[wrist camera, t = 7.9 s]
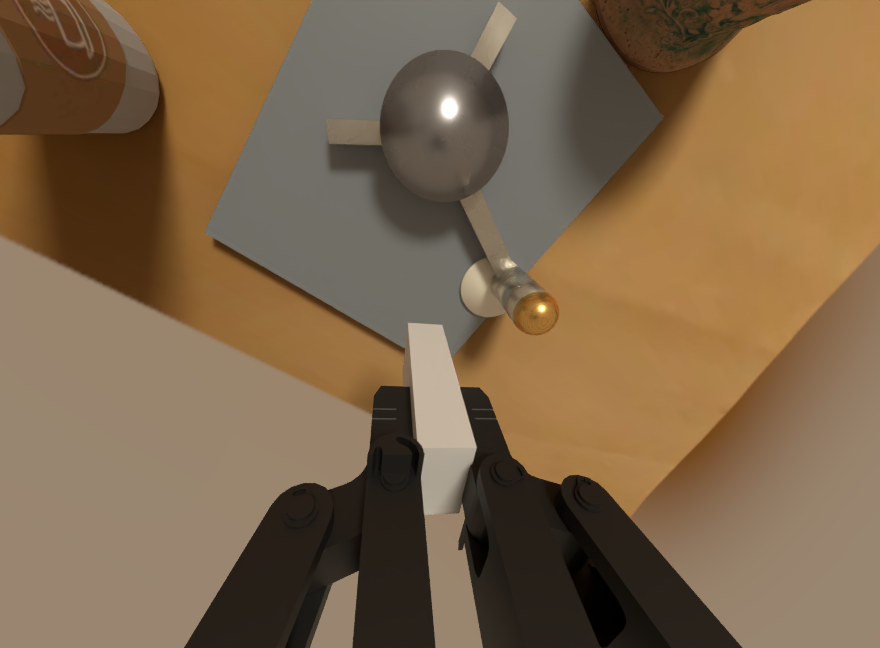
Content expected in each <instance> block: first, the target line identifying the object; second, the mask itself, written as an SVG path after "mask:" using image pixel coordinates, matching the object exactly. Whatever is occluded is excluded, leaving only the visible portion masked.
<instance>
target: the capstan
mask: <svg viewBox="0 0 880 648" xmlns="http://www.w3.org/2000/svg"><path fill="white" fill-rule="evenodd" d="M516 19H517V18H516V17H515V16H514V15H513V14H512V13H511V12H510V11H508V10H507V9H506V8H505V7H504V6H503V5H502V4H501V3H500V2H499V1H498V3H497V5H496V7H495V8H494V10H493V12H492V14H491V16H490V18H489V20H488V22H487V24H486V26H485V28H484V30H483V31H482V33H481V35H480V37H479V39H478V41H477V43H476V45H475V47H474V49H473V51H472V53H471V55H470V56H469V55H467V54H465V53H462V52H459V51H454V50H435V51H430V52H427V53H424V54H421V55H419V56H418V57H416V58H414V59H412V60H411V61H410V62H408V63H407V64H406V65H405V66H404V67H403V68H402V69H401V70H400V71H399V72H398V73H397V75H396V76H395V77H394V79H393V80H392V82H391V84H390V86H389V88H388V89H387V92H386V94H385V97H384V100H383V104H382V108H381V114H380V121H371V120H345V119H326V122H327V130H328V139H329V144H332V145H364V146H382V148H383V152H384V155H385V157H386V160H387V162H388V164H389V166H390V168H391V170H392V171H393V173H394V174H395V176H396V177H397V178H398V180H399V181H400V182H401V183H402V184H403V185H404V186H405V187H406V188H407V189H409V190H410V191H411V192H413V193H414V194H416V195H418V196H420V197H422V198H425V199H427V200H431V201H435V202H453V201H459V203H460V205H461V207H462V209H463V211H464V213H465V215H466V217H467V219H468V221H469V223H470V225H471V227H472V229H473V231H474V234H475V236H476V238H477V240H478V242H479V244H480V246H481V248H482V250H483V252H484V254H485V256H486V258H487V260H488V262H489V264H490V267H491V269H492V271H493V273H494V276H493V278H492V280H491V289H492V292H493V293H494V295H495V296H496V298H497V299H498V301H499V302H500V304H501V305H502V306H503V308H504V309H505V311H506V312H507V314H508V315H509V317H510V318H511V320H512V321H513V322H514V324H515V325H516V327H517V328H518V329H519V330H520V331H522V332H524V333H526V334H529V335H542V334H545V333H547V332H548V331H550V330H551V329H552V328H553V327H554V326H555V324H556V323H557V320H558V317H559V308H558V304H557V302H556V300H555V299H554V298H553V297H552V296H551V295H550V294H549V293H548V292H547V291H546V290H545V289H543V288H542V287H541V286H540V285H539V284H538V283H537V282H536V281H535V280H533V279H532V278H531V277H530V276H529V275H528V274H527V273H526V272H525V271H523V270H522V269H521V268H520V267H518V266H515V265H513V263H512V261H511V258H510V256H509V254H508V252H507V249H506V247H505V245H504V243H503V240H502V238H501V236H500V234H499V231H498V229H497V227H496V225H495V222H494V220H493V218H492V216H491V213H490V211H489V209H488V207H487V204H486V202H485V200H484V198H483V195H482V193H481V191H480V189H481V188H483V187H484V186H485V185H486V184H487V183H488V182H489V181H490V179H491V178H492V177H493V176H494V174H495V173H496V171H497V170H498V168H499V166H500V164H501V162H502V159H503V157H504V154H505V151H506V147H507V142H508V136H509V116H508V110H507V105H506V101H505V98H504V95H503V93H502V90H501V88H500V86H499V84H498V83H497V81H496V79H495V78H494V76H493V75H492V74H491V73H490V71H489V70H490V68H491V66H492V64H493V62H494V60H495V58H496V57H497V55H498V53H499V51H500V49H501V47H502V45H503V43H504V42H505V40H506V38H507V36H508V34H509V32H510V30H511V29H512V27H513V25H514V23H515V21H516Z"/></svg>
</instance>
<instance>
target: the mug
mask: <svg viewBox="0 0 880 648" xmlns="http://www.w3.org/2000/svg"><path fill="white" fill-rule="evenodd" d="M594 1H595V6H596V11H597V14H598V18H599V21H600V24H601V26H602V29H603V31H604V33H605V35H606V37H607V39H608V41H609V43H610V44H611V45H612V47H613V48H614V50H615V51H616V52H617V53H618V54H619V55H620V56H621V57H622V58H623V59H624V60H625V61H627V62H628V63H630V64H631V65H633V66H635V67H637V68H639V69H642V70H645V71H649V72H656V73H664V72H672V71H677V70H680V69H684V68H687V67H690V66H693V65H695V64H697V63H699V62H701V61H703V60H705V59H707V58H708V57H710V56H712V55H713V54H714V53H716V52H717V51H719V50H720V49H721V48H722V47H724V46H725V45H726V44H727V43H728V42H730V41H731V40H732V39H733V38H734V37H735V36H736V35H737V34H738V33H739V32H740V31H741V30H742V28H745V27H747V26H750V25H752V24H754V23H756V22H759V21H760V20H762V19H764V18H766V17H769V16H771V15H775V14H779V13H781V12H783V11H786V10H788V9H791V8H794V7H796V6H799V5H801V4H804V3H806V2H809V1H811V0H594Z"/></svg>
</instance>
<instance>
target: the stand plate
mask: <svg viewBox="0 0 880 648" xmlns="http://www.w3.org/2000/svg"><path fill="white" fill-rule="evenodd" d="M498 1H499V2H500V3H501V4H502V5H503V6H504V7H505V8H506V9H507V10H508V11H510V12H511V13H512V14H513V15H514V16H515V17H516V18H517V19H516V21H515V23H514V25H513V27H512V29H511V30H510V32H509V34H508V36H507V38H506V40H505V42H504V43H503V45H502V47H501V49H500V51H499V53H498V55H497V57H496V58H495V60H494V62H493V64H492V66H491V68H490V70H489V71H490V73H491V74H492V75H493V76H494V78H495V79H496V81H497V83H498V84H499V86H500V88H501V90H502V93H503V95H504V98H505V101H506V105H507V110H508V116H509V136H508V142H507V147H506V151H505V154H504V157H503V159H502V162H501V164H500V166H499V168H498V170H497V171H496V173H495V174H494V176H493V177H492V178H491V179H490V181H489V182H488V183H487V184H486V185H485V186H484V187H483V188H481V189H480V191H481V193H482V195H483V198H484V200H485V202H486V204H487V207H488V209H489V211H490V213H491V216H492V218H493V220H494V222H495V225H496V227H497V229H498V231H499V234H500V236H501V238H502V240H503V243H504V245H505V247H506V249H507V252H508V254H509V256H510V258H511V261H512V263H513V265H515V266H518V267H520V268H521V269H522V270H523V271H525V272H526V273H527V272H528V271H529V270H530V269H531V268H532V267H533V265H534V264H535V263H536V262H537V261H538V260H539V259H540V258H541V256H542V255H543V254H544V253H545V252H546V251H547V250H548V248H549V247H550V246H551V245H552V244H553V243H554V242H555V241H556V239H557V238H558V237H559V236H560V235H561V234H562V233H563V232H564V230H565V229H566V228H567V227H568V226H569V225H570V224H571V223H572V221H573V220H574V219H575V218H576V217H577V216H578V215H579V214H580V212H581V211H582V210H583V209H584V208H585V207H586V206H587V205H588V203H589V202H590V201H591V200H592V199H593V198H594V197H595V195H596V194H597V193H598V192H599V191H600V190H601V189H602V188H603V186H604V185H605V184H606V183H607V182H608V181H609V180H610V179H611V177H612V176H613V175H614V174H615V173H616V172H617V171H618V170H619V168H620V167H621V166H622V165H623V164H624V163H625V162H626V161H627V159H628V158H629V157H630V156H631V155H632V154H633V153H634V152H635V150H636V149H637V148H638V147H639V146H640V145H641V144H642V142H643V141H644V140H645V139H646V138H647V137H648V136H649V135H650V133H651V132H652V131H653V130H654V129H655V128H656V127H657V126H658V124H659V123H660V122H661V121H662V120H663V119H664V117H663V116H662V115H661V113H660V112H659V110H658V109H657V108H656V106H655V105H654V103H653V102H652V101H651V99H650V98H649V97H648V95H647V94H646V92H645V91H644V90H643V88H642V87H641V85H640V84H639V83H638V81H637V80H636V79H635V77H634V76H633V74H632V73H631V72H630V70H629V69H628V67H627V66H626V65H625V63H624V62H623V61H622V59H621V58H620V56H619V55H618V54H617V52H616V51H615V50H614V48H613V47H612V45H611V44H610V43H609V41H608V40H607V38H606V37H605V36H604V34H603V33H602V32H601V30H600V29H599V27H598V26H597V25H596V23H595V22H594V20H593V19H592V18H591V16H590V15H589V14H588V12H587V11H586V9H585V8H584V7H583V5H582V4H581V2H580V1H579V0H312V2H311V4H310V6H309V8H308V10H307V12H306V15H305V17H304V19H303V21H302V23H301V25H300V28H299V30H298V32H297V34H296V36H295V38H294V40H293V43H292V45H291V47H290V49H289V51H288V53H287V56H286V58H285V60H284V62H283V64H282V66H281V69H280V71H279V73H278V75H277V77H276V79H275V82H274V84H273V86H272V88H271V90H270V92H269V94H268V97H267V99H266V101H265V103H264V105H263V107H262V110H261V112H260V114H259V116H258V118H257V120H256V123H255V125H254V127H253V129H252V131H251V133H250V136H249V138H248V140H247V142H246V144H245V146H244V148H243V151H242V153H241V155H240V157H239V159H238V161H237V164H236V166H235V168H234V170H233V172H232V174H231V177H230V179H229V181H228V183H227V185H226V187H225V190H224V192H223V194H222V196H221V198H220V200H219V203H218V205H217V207H216V209H215V211H214V213H213V215H212V218H211V220H210V222H209V224H208V226H207V228H206V231H205V233H206V234H208V235H209V236H211V237H213V238H214V239H216V240H218V241H220V242H221V243H223V244H225V245H227V246H228V247H230V248H232V249H233V250H235V251H237V252H239V253H240V254H242V255H244V256H246V257H247V258H249V259H251V260H252V261H254V262H256V263H258V264H259V265H261V266H263V267H265V268H266V269H268V270H270V271H271V272H273V273H275V274H277V275H278V276H280V277H282V278H284V279H285V280H287V281H289V282H290V283H292V284H294V285H296V286H297V287H299V288H301V289H303V290H304V291H306V292H308V293H309V294H311V295H313V296H315V297H316V298H318V299H320V300H322V301H323V302H325V303H327V304H328V305H330V306H332V307H334V308H335V309H337V310H339V311H341V312H342V313H344V314H346V315H347V316H349V317H351V318H353V319H354V320H356V321H358V322H360V323H361V324H363V325H365V326H366V327H368V328H370V329H372V330H373V331H375V332H377V333H379V334H380V335H382V336H384V337H385V338H387V339H389V340H391V341H392V342H394V343H396V344H398V345H399V346H401V347H403V348H404V349H405V346H406V336H407V326H408V323H421V324H437V325H442V326H443V329H444V333H445V336H446V340H447V343H448V347H449V351H450V354H451V358H452V357H453V356H454V354H455V353H456V352H457V351H458V350H459V349H460V348H461V347H462V345H463V344H464V343H465V342H466V341H467V340H468V339H469V338H470V336H471V335H472V334H473V333H474V332H475V331H476V330H477V329H478V327H479V326H480V325H481V324H482V323H483V322H484V321H485V320H486V318H487V317H495V316H499V315H502V314H504V313H506V311H505V309H504V308H503V306H502V305H501V304H500V302H499V301H498V299H497V298H496V296H495V295H494V293H493V292H492V289H491V280H492V278H493V276H494V273H493V271H492V269H491V267H490V264H489V262H488V260H487V258H486V256H485V254H484V252H483V250H482V248H481V246H480V244H479V242H478V240H477V238H476V236H475V234H474V231H473V229H472V227H471V225H470V223H469V221H468V219H467V217H466V215H465V213H464V211H463V209H462V207H461V205H460V203H459V201H453V202H435V201H431V200H427V199H425V198H422V197H420V196H418V195H416V194H414V193H413V192H411V191H410V190H409V189H407V188H406V187H405V186H404V185H403V184H402V183H401V182H400V181H399V180H398V178H397V177H396V176H395V174H394V173H393V171H392V170H391V168H390V166H389V164H388V162H387V160H386V157H385V155H384V152H383V148H382V146H364V145H332V144H329V139H328V130H327V122H326V119H345V120H371V121H380V114H381V108H382V104H383V100H384V97H385V94H386V92H387V89H388V88H389V86H390V84H391V82H392V80H393V79H394V77H395V76H396V75H397V73H398V72H399V71H400V70H401V69H402V68H403V67H404V66H405V65H406V64H407V63H408V62H410V61H411V60H412V59H414V58H416V57H418V56H419V55H421V54H424V53H427V52H430V51H435V50H454V51H459V52H462V53H465V54H467V55H469V56H470V55H471V53H472V51H473V49H474V47H475V45H476V43H477V41H478V39H479V37H480V35H481V33H482V31H483V30H484V28H485V26H486V24H487V22H488V20H489V18H490V16H491V14H492V12H493V10H494V8H495V7H496V5H497V3H498Z"/></svg>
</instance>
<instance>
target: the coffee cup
mask: <svg viewBox="0 0 880 648" xmlns="http://www.w3.org/2000/svg"><path fill="white" fill-rule="evenodd" d="M159 95H160V90H159V80H158V75H157V72H156V69H155V66H154V63H153V60H152V59H151V57H150V55H149V53H148V51H147V50H146V48H145V46H144V44H143V43H142V42H141V40H140V38H139V36H138V35H137V34H136V33H135V31H134V30H133V29H132V28H131V26H130V25H129V24H128V23H127V21H126V20H125V19H124V18H123V17H122V16H121V15H120V14H119V13H117V12H116V11H115V10H114V9H113V8H112V7H111V6H109V5H108V4H107V3H106V2H104V1H103V0H0V135H81V134H84V133H128V132H131V131H134V130H137V129H139V128H141V127H142V126H143V125H144V124H146V123H147V122H148V121H149V120H150V118H151V117H152V115H153V114H154V112H155V110H156V108H157V106H158V101H159Z"/></svg>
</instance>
